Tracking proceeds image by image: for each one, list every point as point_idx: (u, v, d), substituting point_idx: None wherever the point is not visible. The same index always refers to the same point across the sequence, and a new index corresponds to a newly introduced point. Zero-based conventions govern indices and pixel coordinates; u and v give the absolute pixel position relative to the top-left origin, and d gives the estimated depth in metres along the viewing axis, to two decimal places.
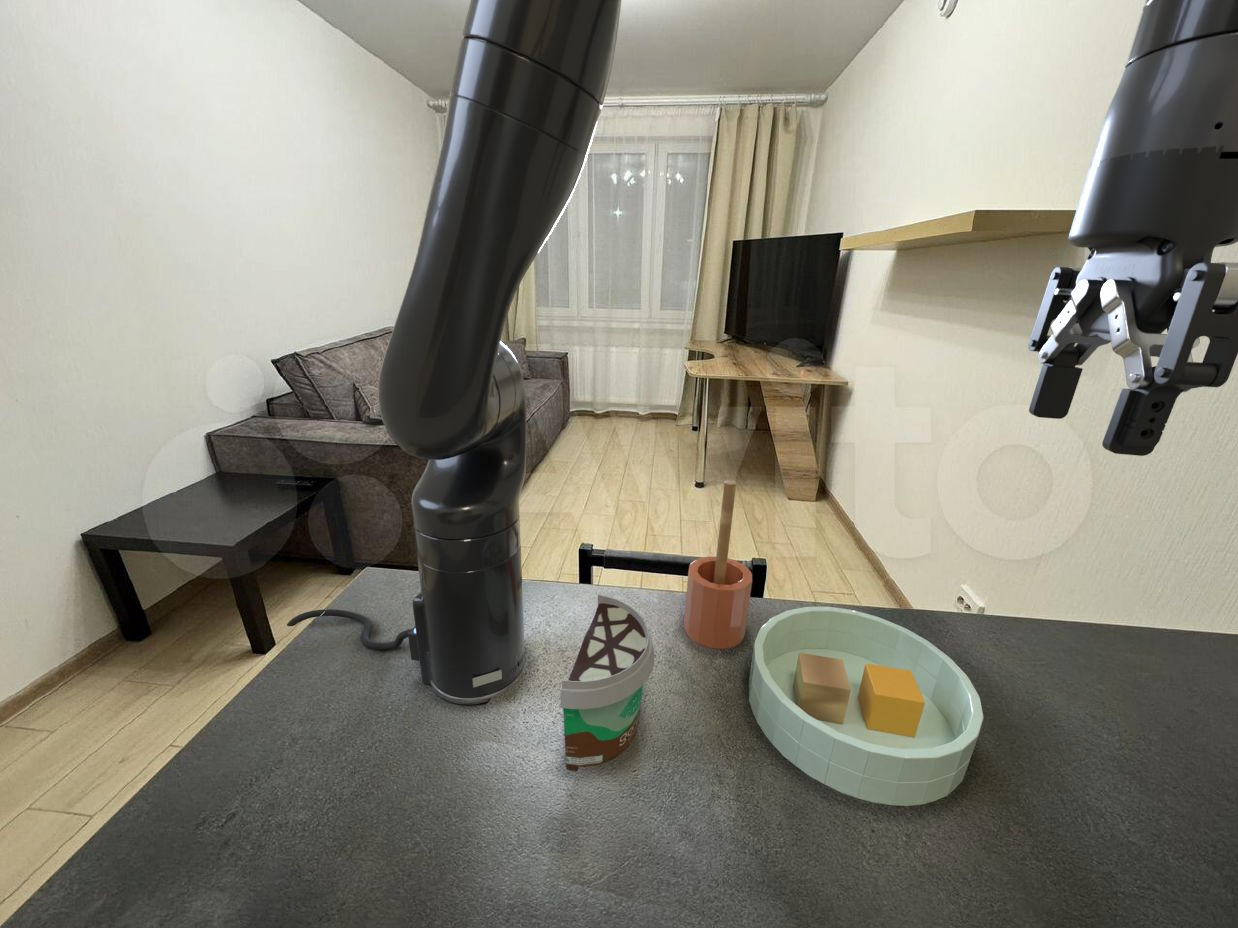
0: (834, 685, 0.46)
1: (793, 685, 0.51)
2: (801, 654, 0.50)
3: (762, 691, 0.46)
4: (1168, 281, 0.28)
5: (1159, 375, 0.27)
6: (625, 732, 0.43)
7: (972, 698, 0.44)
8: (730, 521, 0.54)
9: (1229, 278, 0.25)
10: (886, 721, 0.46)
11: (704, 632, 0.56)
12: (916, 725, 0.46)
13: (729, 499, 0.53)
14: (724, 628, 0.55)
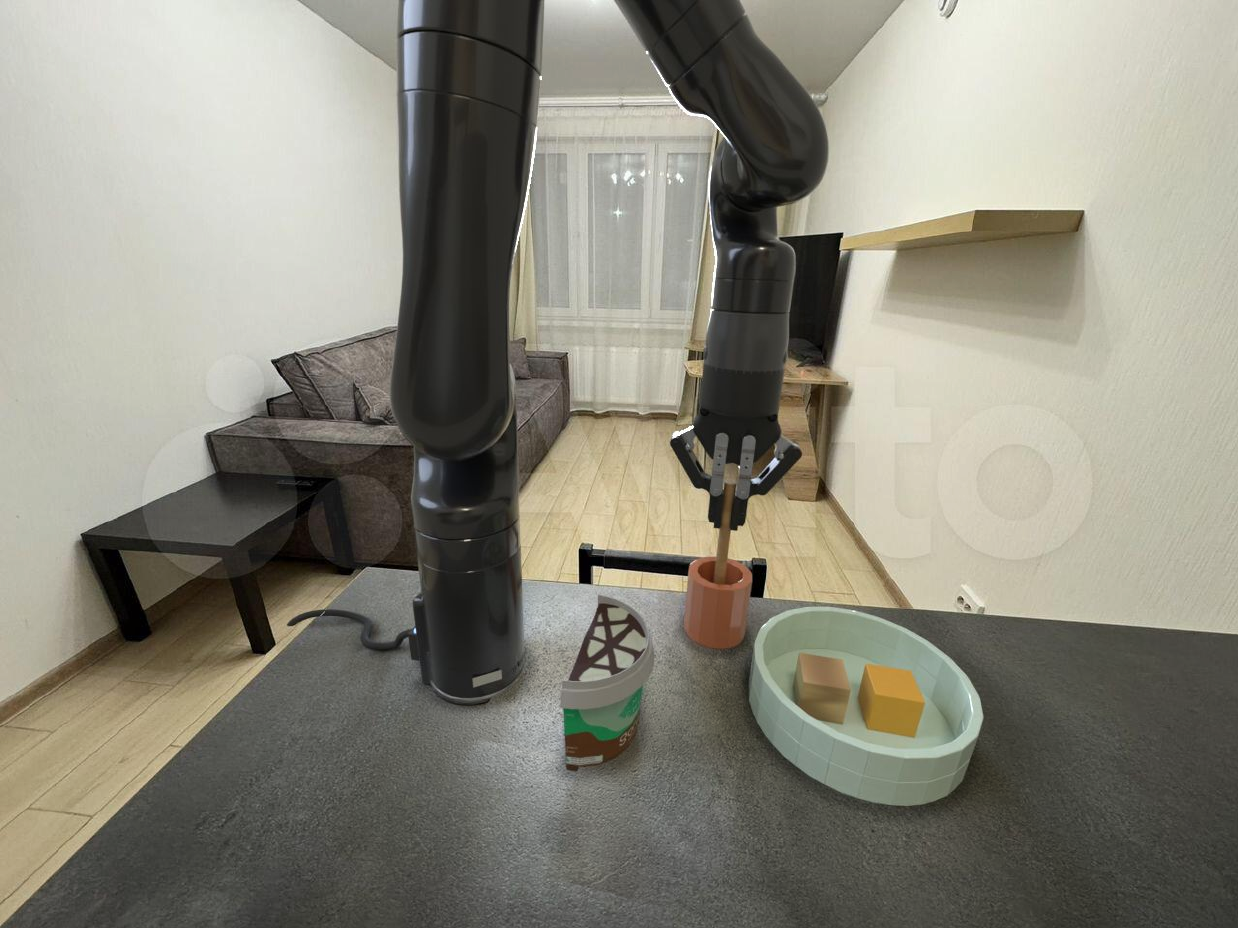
0: (834, 685, 0.46)
1: (793, 685, 0.51)
2: (801, 654, 0.50)
3: (762, 691, 0.46)
4: None
5: None
6: (625, 732, 0.43)
7: (972, 698, 0.44)
8: (730, 521, 0.54)
9: None
10: (886, 721, 0.46)
11: (704, 632, 0.56)
12: (916, 725, 0.46)
13: (729, 499, 0.53)
14: (724, 628, 0.55)
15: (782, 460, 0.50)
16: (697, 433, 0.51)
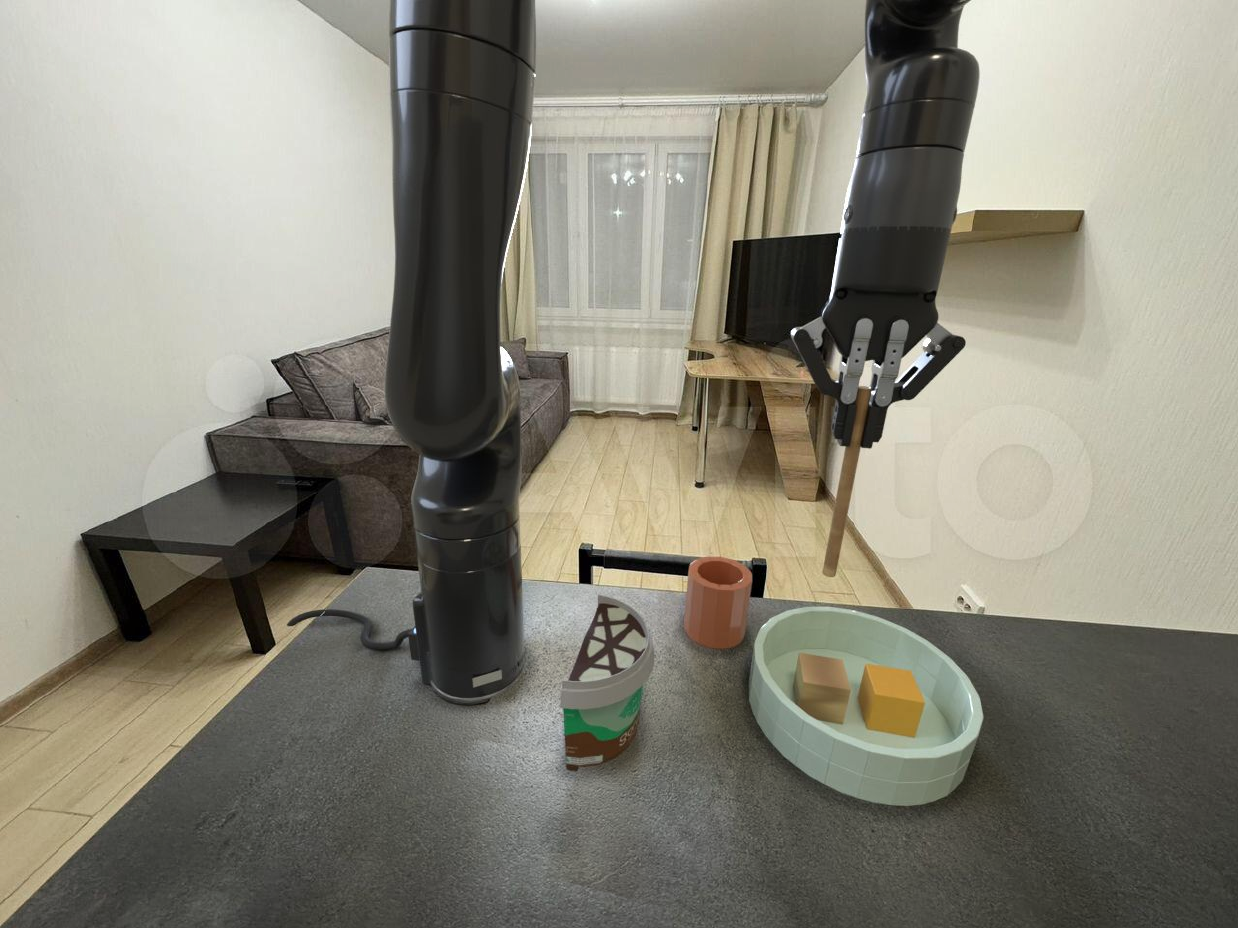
0: (834, 685, 0.46)
1: (793, 685, 0.51)
2: (801, 654, 0.50)
3: (762, 691, 0.46)
4: None
5: None
6: (625, 732, 0.43)
7: (972, 698, 0.44)
8: (861, 437, 0.45)
9: (793, 340, 0.44)
10: (886, 721, 0.46)
11: (704, 632, 0.56)
12: (916, 725, 0.46)
13: (863, 409, 0.44)
14: (724, 628, 0.55)
15: (938, 353, 0.40)
16: (829, 323, 0.42)
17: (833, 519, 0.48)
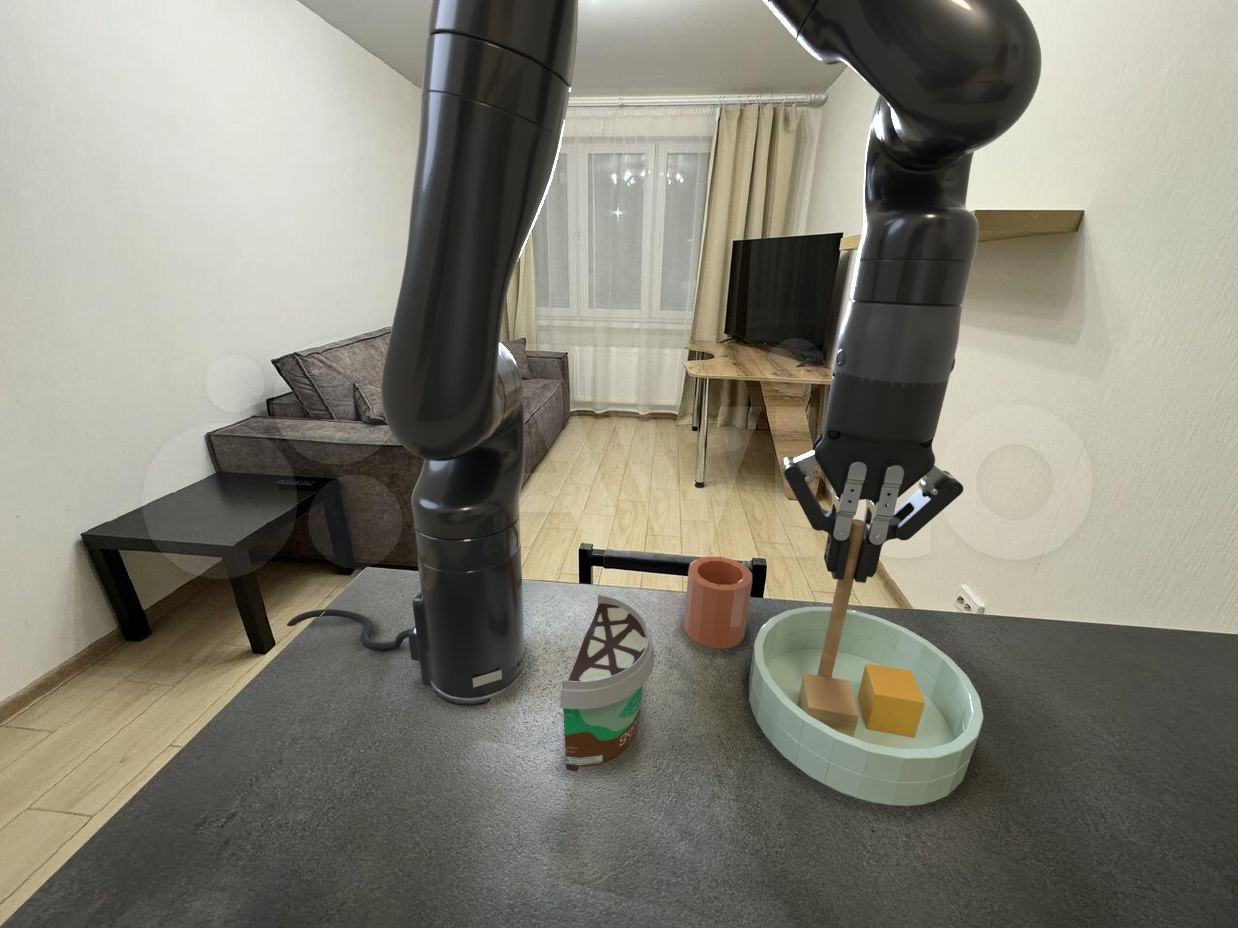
0: (841, 711, 0.43)
1: None
2: (806, 675, 0.47)
3: (762, 691, 0.46)
4: None
5: None
6: (625, 732, 0.43)
7: (972, 698, 0.44)
8: (855, 570, 0.43)
9: None
10: (886, 721, 0.46)
11: (704, 632, 0.56)
12: (916, 725, 0.46)
13: (857, 544, 0.42)
14: (724, 628, 0.55)
15: (935, 497, 0.39)
16: (821, 461, 0.40)
17: (825, 643, 0.46)
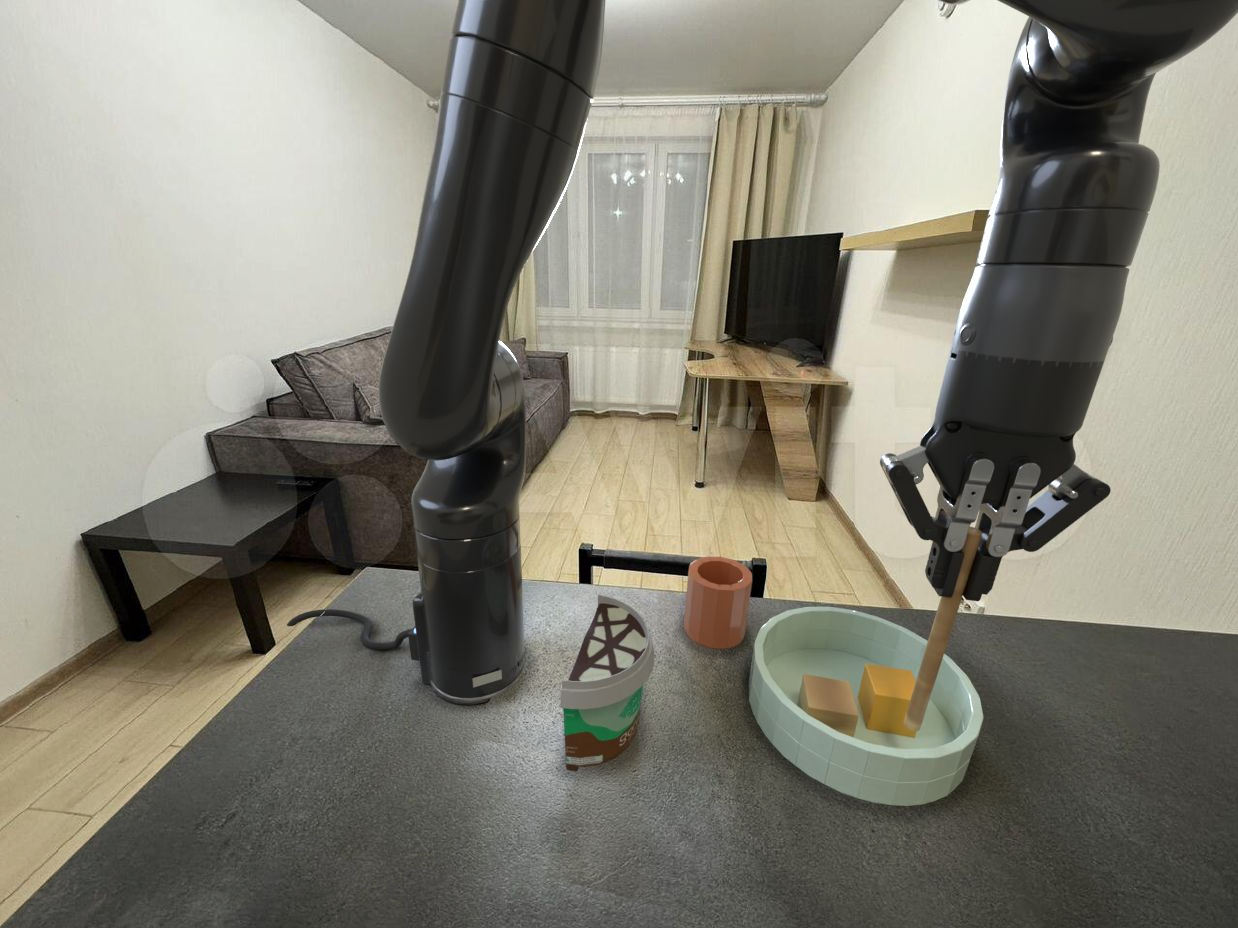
0: (841, 711, 0.43)
1: None
2: (805, 676, 0.47)
3: (762, 691, 0.46)
4: None
5: None
6: (625, 732, 0.43)
7: (972, 698, 0.44)
8: (965, 586, 0.37)
9: (885, 471, 0.36)
10: (886, 721, 0.46)
11: (704, 632, 0.56)
12: None
13: (971, 556, 0.36)
14: (724, 628, 0.55)
15: (1074, 500, 0.33)
16: (935, 458, 0.34)
17: (921, 670, 0.40)
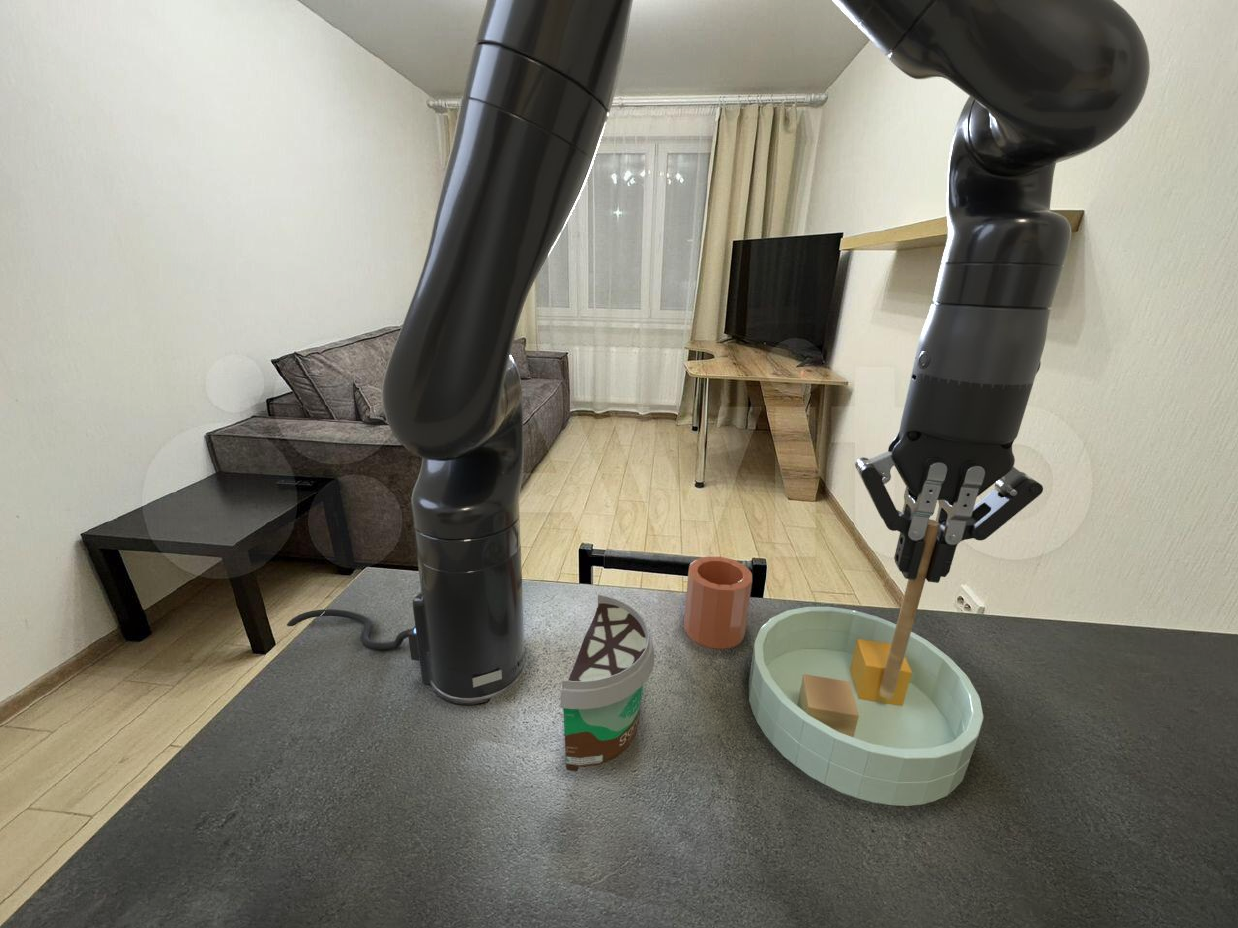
0: (841, 711, 0.43)
1: None
2: (805, 676, 0.47)
3: (762, 691, 0.46)
4: None
5: None
6: (625, 732, 0.43)
7: (972, 698, 0.44)
8: (927, 570, 0.43)
9: (859, 472, 0.42)
10: (876, 691, 0.49)
11: (704, 632, 0.56)
12: (904, 694, 0.49)
13: (931, 544, 0.42)
14: (724, 628, 0.55)
15: (1014, 497, 0.39)
16: (899, 462, 0.40)
17: (892, 644, 0.47)
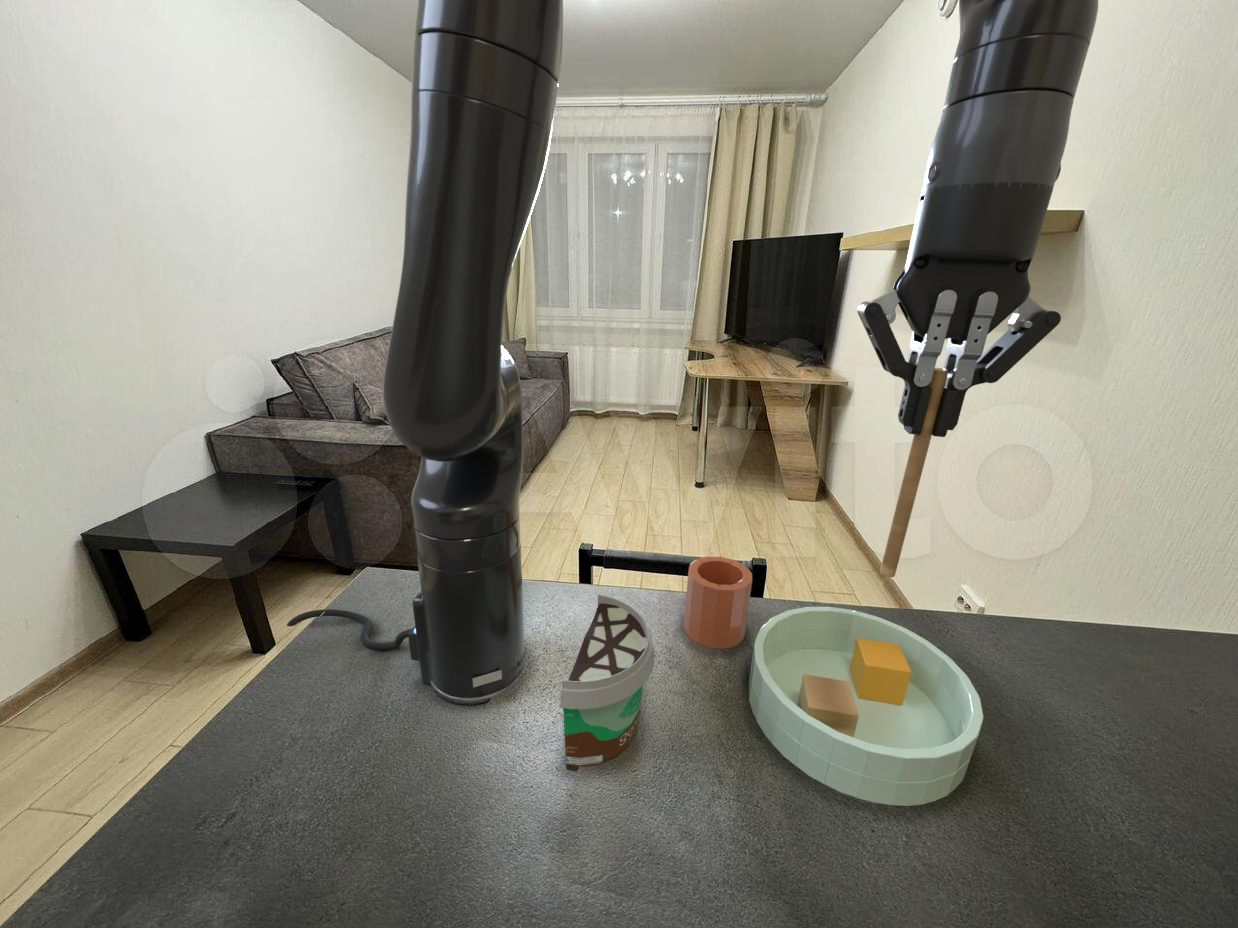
0: (841, 711, 0.43)
1: None
2: (805, 676, 0.47)
3: (762, 691, 0.46)
4: None
5: None
6: (625, 732, 0.43)
7: (972, 698, 0.44)
8: (933, 424, 0.40)
9: (861, 315, 0.40)
10: (876, 690, 0.49)
11: (704, 632, 0.56)
12: (903, 693, 0.49)
13: (938, 393, 0.39)
14: (724, 628, 0.55)
15: (1029, 330, 0.36)
16: (905, 296, 0.37)
17: (895, 514, 0.44)
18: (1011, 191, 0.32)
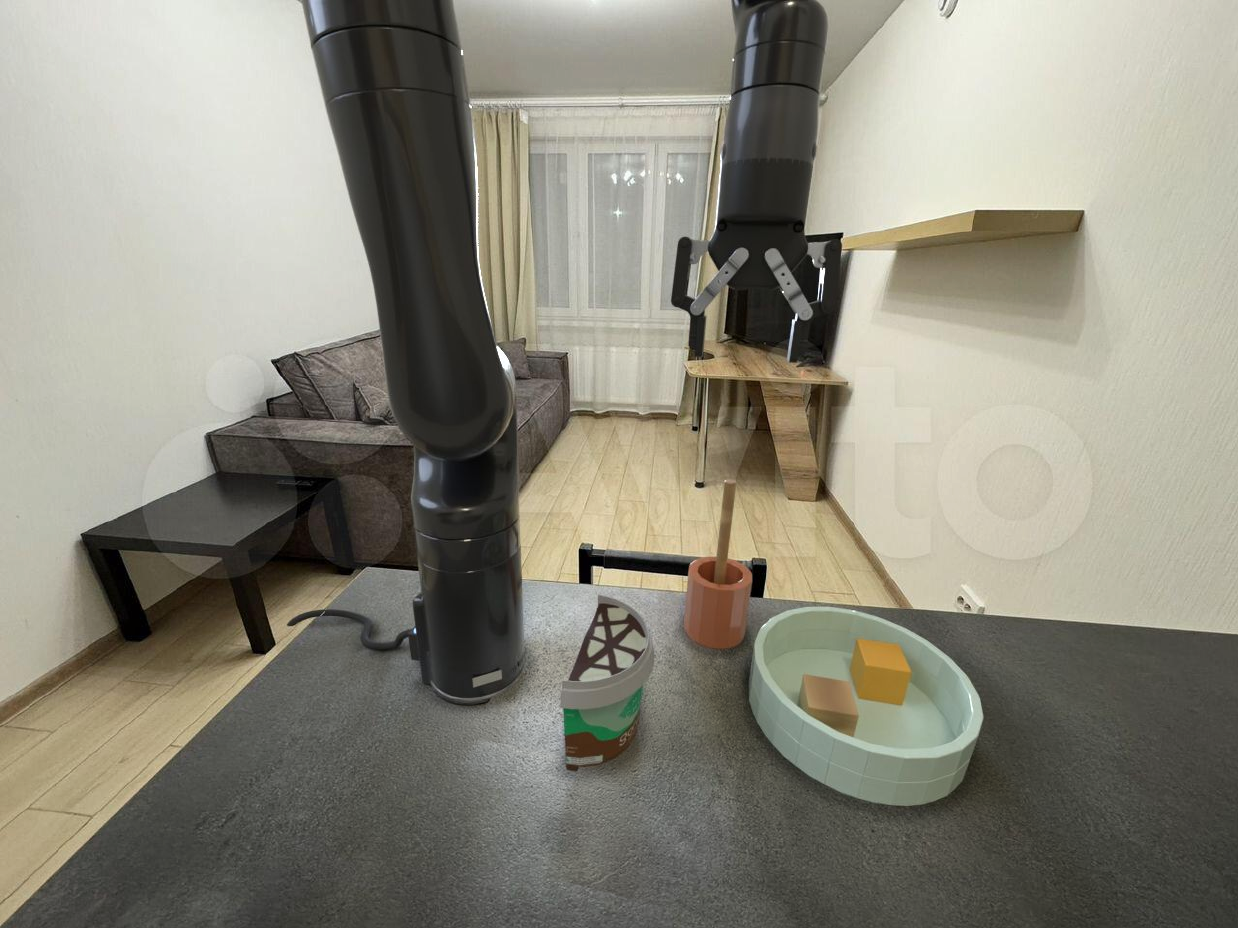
0: (841, 711, 0.43)
1: None
2: (805, 676, 0.47)
3: (762, 691, 0.46)
4: None
5: None
6: (625, 732, 0.43)
7: (972, 698, 0.44)
8: (730, 520, 0.55)
9: None
10: (876, 690, 0.49)
11: (704, 632, 0.56)
12: (903, 693, 0.49)
13: (730, 498, 0.54)
14: (724, 628, 0.55)
15: (826, 262, 0.44)
16: (712, 254, 0.46)
17: None
18: (770, 165, 0.40)
